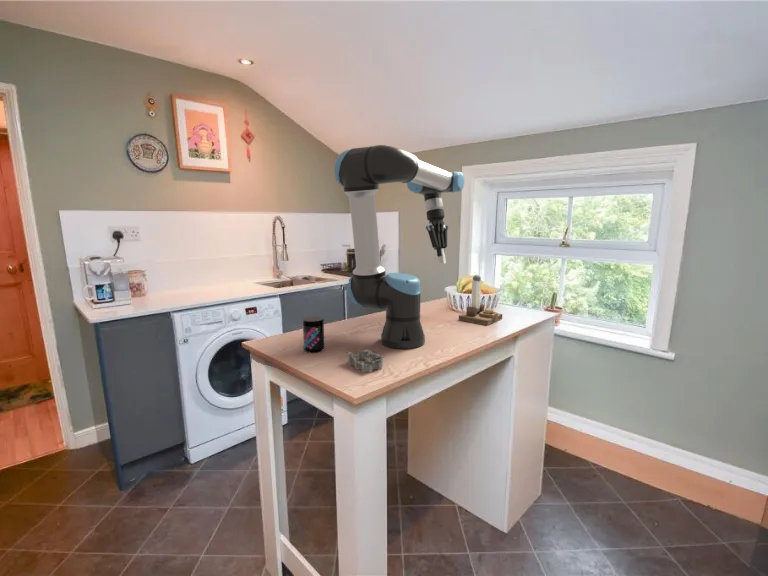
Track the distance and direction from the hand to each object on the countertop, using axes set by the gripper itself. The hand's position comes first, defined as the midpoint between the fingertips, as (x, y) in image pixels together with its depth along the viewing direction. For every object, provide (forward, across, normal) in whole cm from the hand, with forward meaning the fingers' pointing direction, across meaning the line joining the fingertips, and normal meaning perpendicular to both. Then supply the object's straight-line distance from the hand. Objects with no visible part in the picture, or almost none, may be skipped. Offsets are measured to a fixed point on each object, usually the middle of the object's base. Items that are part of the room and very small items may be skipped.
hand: (442, 263), depth 162 cm
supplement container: (+25, +65, -8) cm, 70 cm away
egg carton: (+30, +62, +13) cm, 70 cm away
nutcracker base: (+26, -7, +10) cm, 29 cm away
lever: (+22, -7, +9) cm, 24 cm away
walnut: (+25, -7, +14) cm, 29 cm away
